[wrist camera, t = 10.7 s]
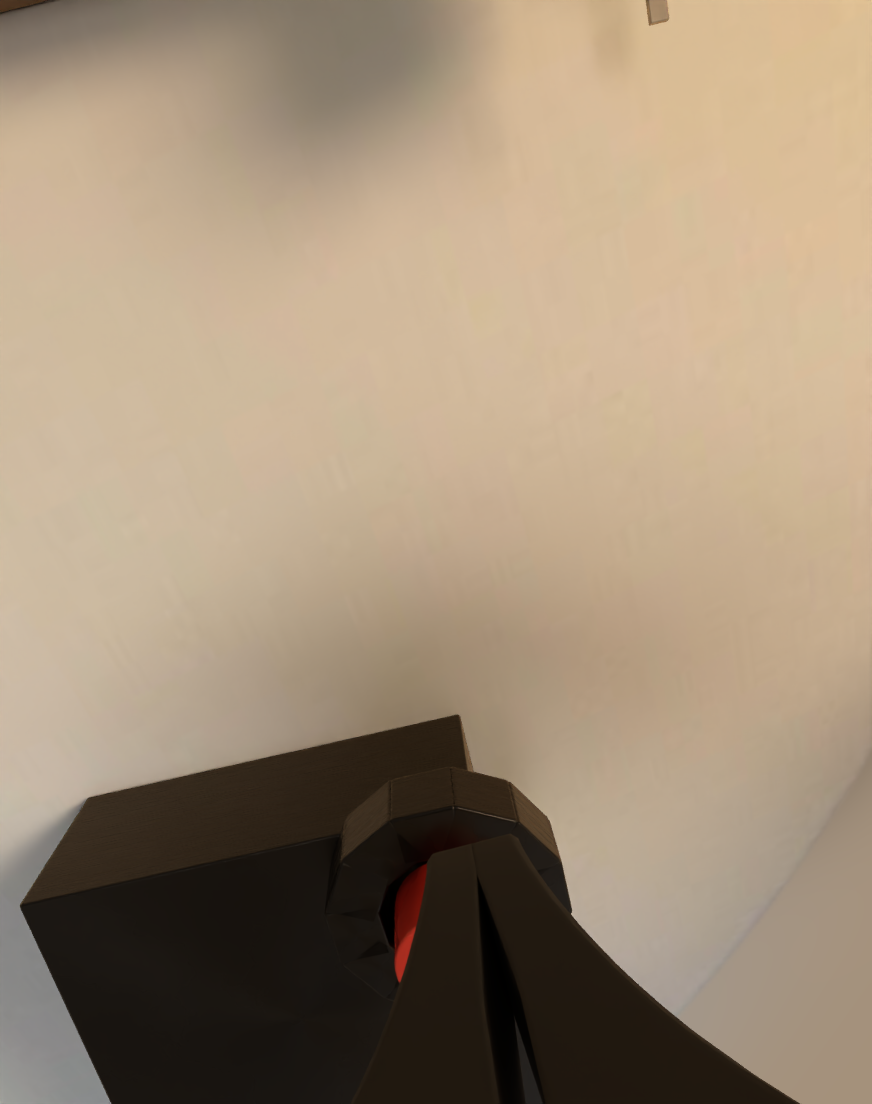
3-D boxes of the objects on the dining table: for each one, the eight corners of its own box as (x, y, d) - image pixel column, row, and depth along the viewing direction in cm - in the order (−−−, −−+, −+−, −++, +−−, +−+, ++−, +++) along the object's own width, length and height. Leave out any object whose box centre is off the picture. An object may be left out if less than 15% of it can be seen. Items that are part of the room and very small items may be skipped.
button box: (508, 664, 22) (545, 785, 17) (575, 973, 26) (626, 1164, 20) (73, 763, 23) (-37, 916, 17) (194, 1056, 26) (137, 1268, 20)
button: (489, 847, 18) (499, 903, 16) (511, 934, 18) (522, 997, 17) (383, 870, 18) (381, 929, 16) (408, 956, 18) (409, 1021, 17)
